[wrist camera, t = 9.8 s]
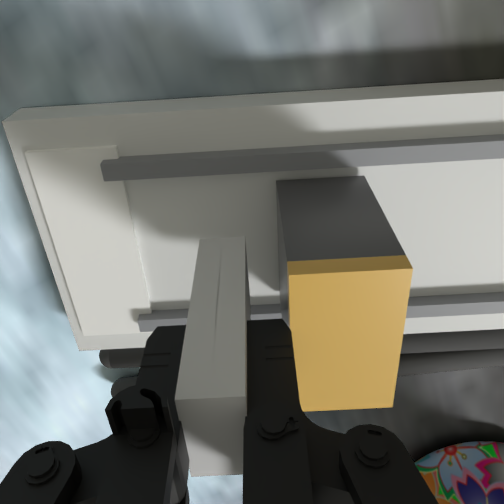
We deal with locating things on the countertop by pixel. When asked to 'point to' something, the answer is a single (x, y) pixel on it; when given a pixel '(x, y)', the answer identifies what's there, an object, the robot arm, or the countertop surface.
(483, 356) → the cable
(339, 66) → the countertop surface
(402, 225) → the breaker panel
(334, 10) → the countertop surface
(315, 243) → the block
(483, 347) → the cable
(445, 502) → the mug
